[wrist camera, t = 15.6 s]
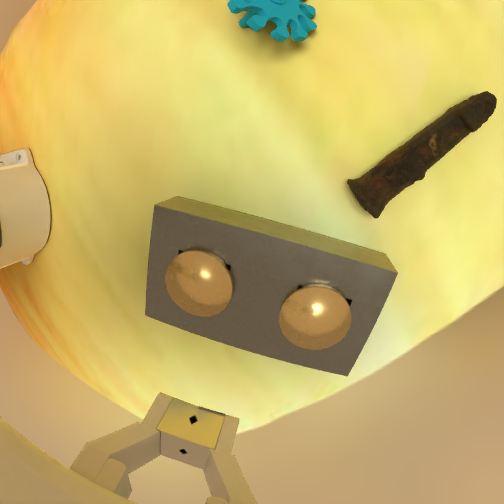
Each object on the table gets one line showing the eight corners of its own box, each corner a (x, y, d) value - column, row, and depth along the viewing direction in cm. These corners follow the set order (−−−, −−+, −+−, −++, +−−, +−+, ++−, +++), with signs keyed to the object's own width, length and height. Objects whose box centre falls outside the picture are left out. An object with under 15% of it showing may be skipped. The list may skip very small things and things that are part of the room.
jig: (165, 294, 34) (141, 318, 29) (177, 196, 30) (150, 206, 25) (344, 347, 32) (347, 381, 27) (385, 253, 28) (400, 276, 22)
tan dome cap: (276, 314, 31) (270, 339, 26) (294, 259, 28) (290, 278, 24) (333, 330, 30) (335, 356, 26) (355, 277, 28) (362, 299, 24)
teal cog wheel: (331, 48, 21) (233, 19, 16) (290, 70, 26) (199, 56, 21) (306, -28, 19) (221, -58, 14) (273, -3, 24) (193, -22, 19)
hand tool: (366, 214, 27) (376, 226, 23) (343, 181, 27) (349, 186, 22) (492, 120, 21) (516, 118, 16) (473, 87, 20) (495, 80, 16)
